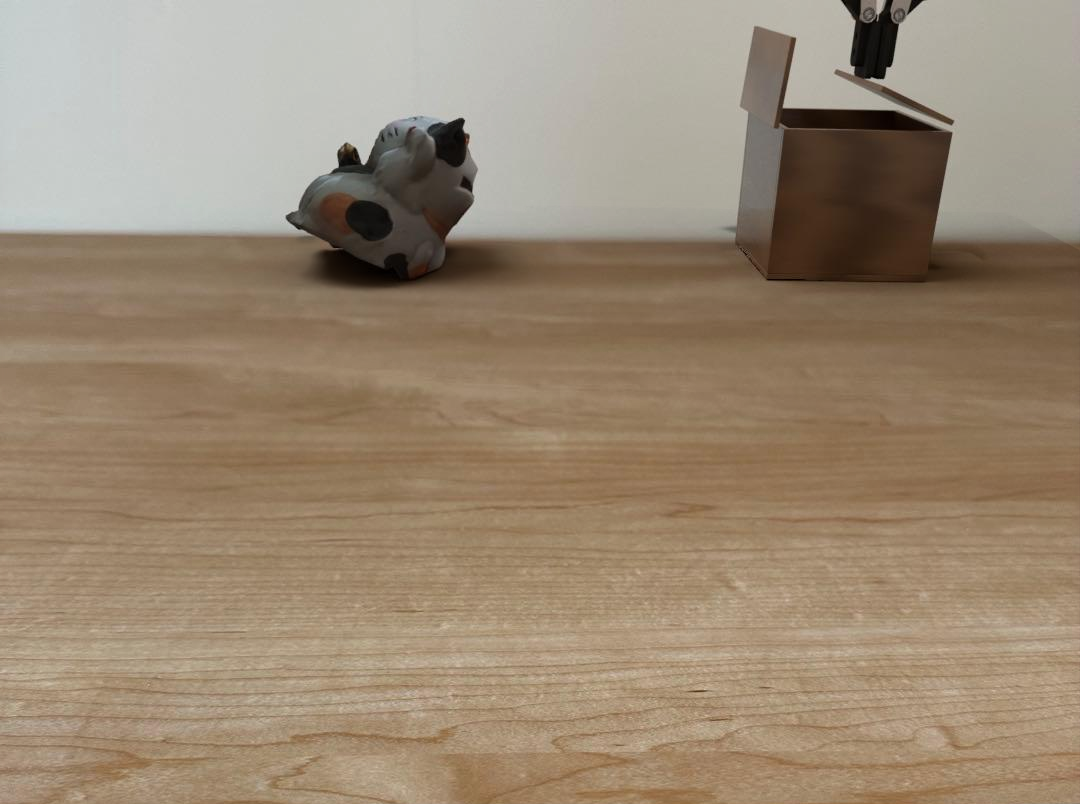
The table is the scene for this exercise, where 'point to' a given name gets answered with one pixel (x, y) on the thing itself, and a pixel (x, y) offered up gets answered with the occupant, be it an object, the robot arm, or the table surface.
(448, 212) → the lucky cat figurine
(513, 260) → the table surface
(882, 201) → the carton
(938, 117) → the flap
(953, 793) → the table surface
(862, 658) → the table surface
